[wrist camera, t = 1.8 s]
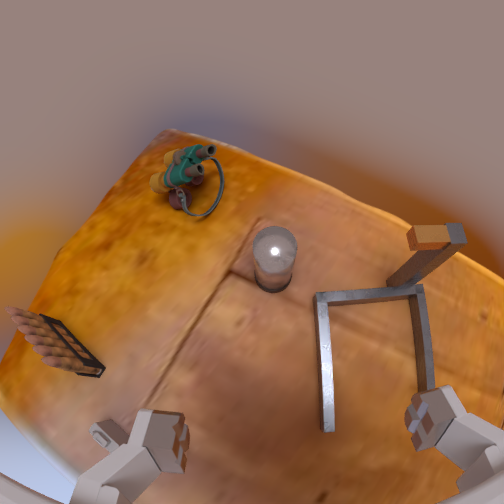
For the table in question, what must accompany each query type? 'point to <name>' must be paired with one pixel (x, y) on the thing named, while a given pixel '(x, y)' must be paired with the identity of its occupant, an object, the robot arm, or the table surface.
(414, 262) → the grey metal bar frame
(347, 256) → the table surface
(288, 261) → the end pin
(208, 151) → the binoculars
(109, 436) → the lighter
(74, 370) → the ammunition clip
